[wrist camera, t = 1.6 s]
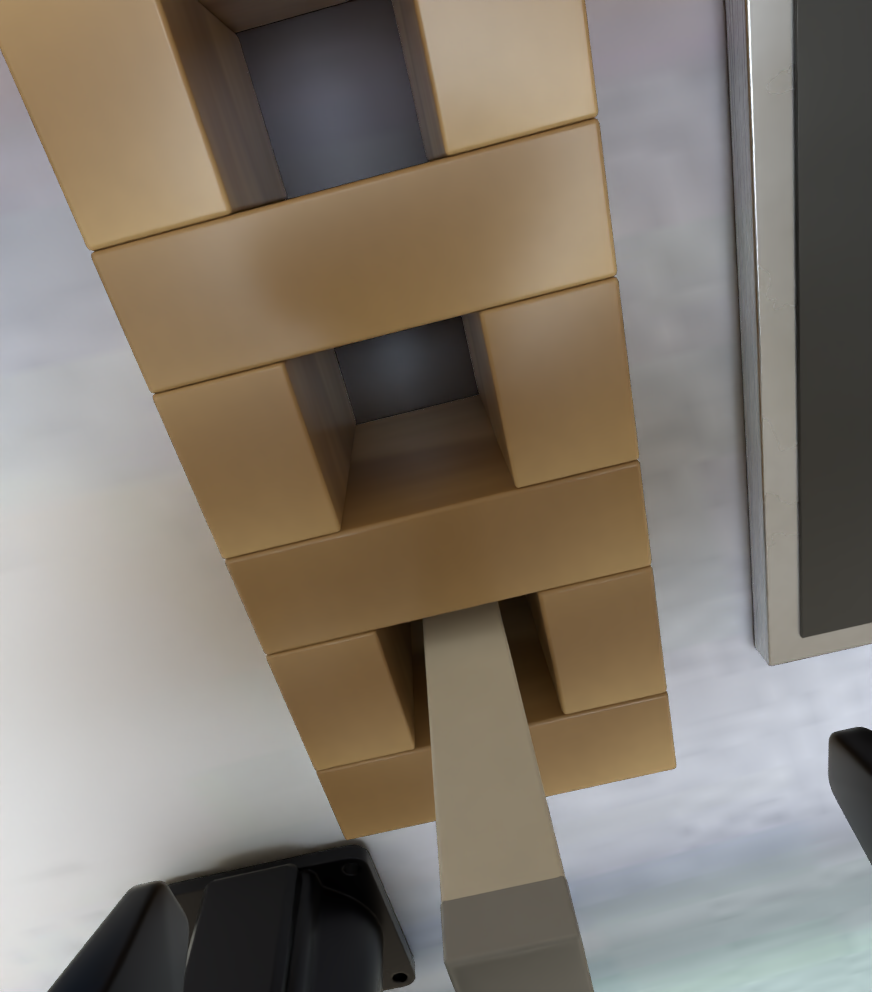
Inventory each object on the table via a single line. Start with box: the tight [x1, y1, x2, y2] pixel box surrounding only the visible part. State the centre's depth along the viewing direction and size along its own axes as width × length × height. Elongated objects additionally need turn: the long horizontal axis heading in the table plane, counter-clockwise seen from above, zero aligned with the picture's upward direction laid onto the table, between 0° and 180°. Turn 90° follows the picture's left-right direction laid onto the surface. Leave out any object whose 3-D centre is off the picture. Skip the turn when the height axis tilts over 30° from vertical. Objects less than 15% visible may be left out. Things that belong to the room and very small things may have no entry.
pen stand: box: [0, 0, 676, 840], centre depth 12 cm, size 16×6×5 cm, turn 14°
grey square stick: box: [423, 601, 594, 992], centre depth 12 cm, size 1×1×10 cm
